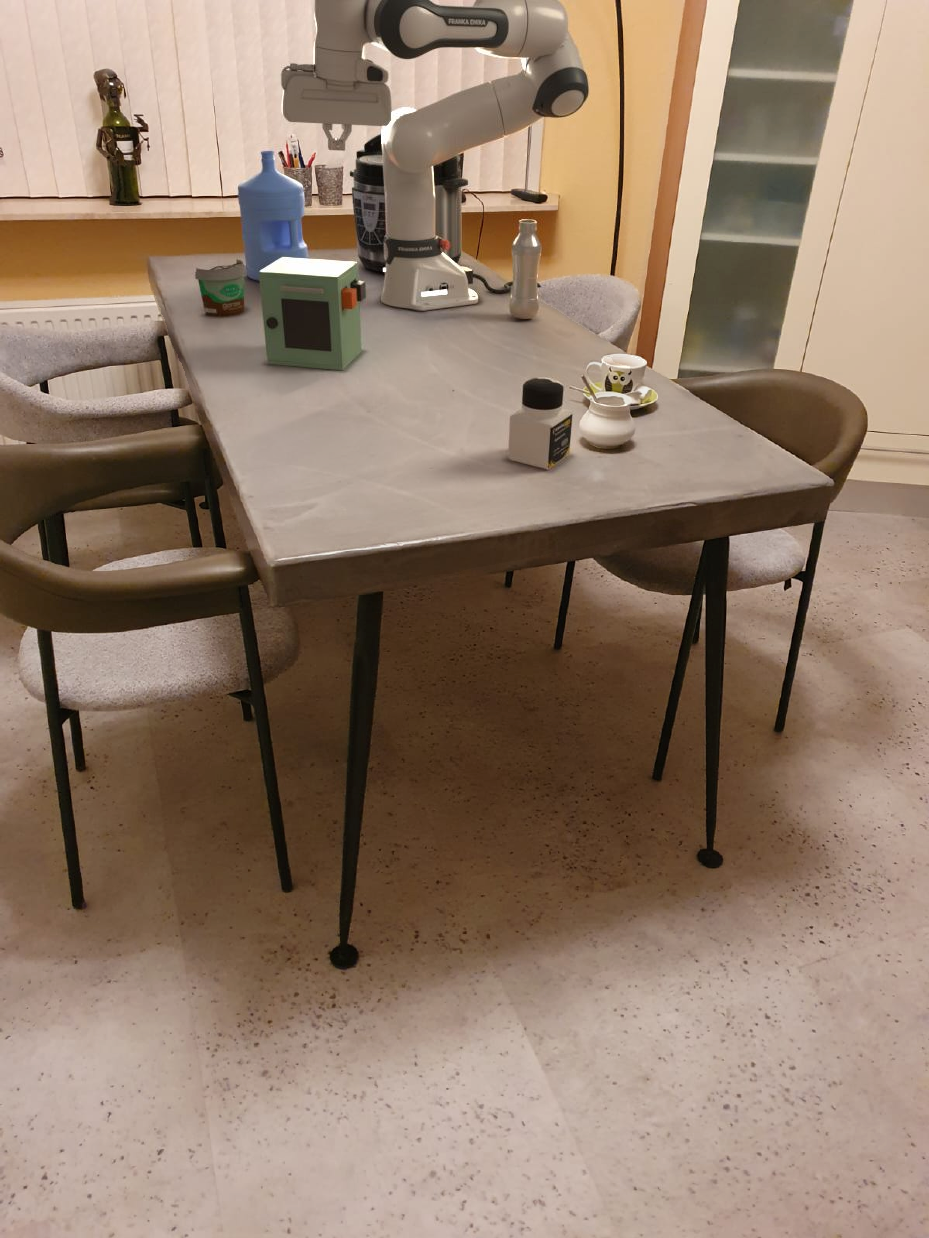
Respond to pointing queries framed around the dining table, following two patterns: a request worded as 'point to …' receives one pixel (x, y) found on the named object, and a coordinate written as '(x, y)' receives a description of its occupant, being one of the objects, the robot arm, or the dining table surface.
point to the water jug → (271, 217)
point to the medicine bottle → (540, 425)
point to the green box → (309, 313)
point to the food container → (222, 289)
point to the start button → (349, 298)
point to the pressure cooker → (372, 204)
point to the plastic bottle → (525, 271)
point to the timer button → (359, 289)
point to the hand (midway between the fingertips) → (336, 150)
